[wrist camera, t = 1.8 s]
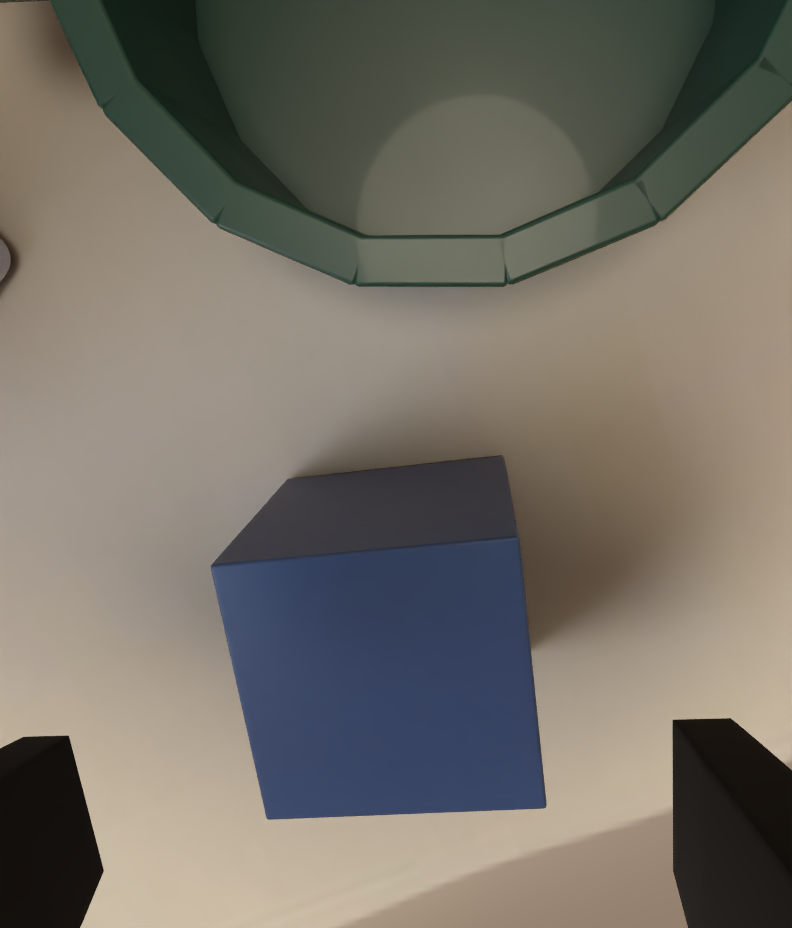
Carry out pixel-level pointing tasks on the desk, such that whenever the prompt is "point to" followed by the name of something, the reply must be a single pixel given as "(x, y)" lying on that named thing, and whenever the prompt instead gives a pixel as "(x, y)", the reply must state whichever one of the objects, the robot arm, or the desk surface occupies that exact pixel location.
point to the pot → (435, 120)
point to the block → (385, 644)
